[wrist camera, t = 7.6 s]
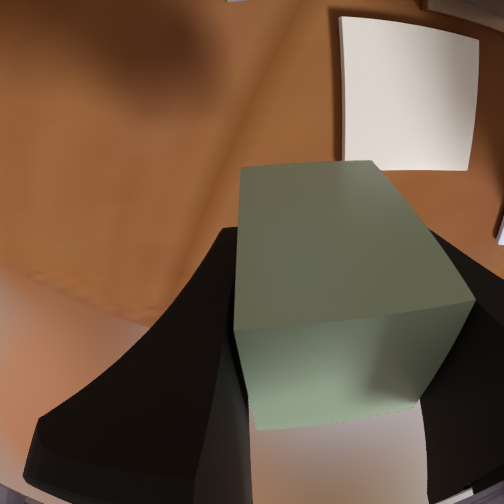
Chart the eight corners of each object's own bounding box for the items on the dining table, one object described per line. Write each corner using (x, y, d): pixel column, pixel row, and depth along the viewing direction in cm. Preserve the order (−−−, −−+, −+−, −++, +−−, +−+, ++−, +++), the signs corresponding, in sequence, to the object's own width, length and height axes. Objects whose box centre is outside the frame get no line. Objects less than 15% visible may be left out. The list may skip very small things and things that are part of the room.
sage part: (371, 160, 9) (476, 299, 4) (360, 261, 12) (412, 408, 7) (241, 167, 9) (233, 330, 5) (253, 271, 12) (256, 430, 7)
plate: (472, 39, 11) (479, 40, 11) (462, 166, 16) (467, 170, 15) (338, 17, 12) (341, 16, 11) (341, 167, 16) (344, 171, 16)
